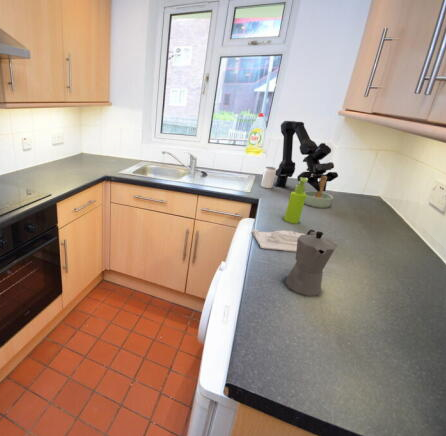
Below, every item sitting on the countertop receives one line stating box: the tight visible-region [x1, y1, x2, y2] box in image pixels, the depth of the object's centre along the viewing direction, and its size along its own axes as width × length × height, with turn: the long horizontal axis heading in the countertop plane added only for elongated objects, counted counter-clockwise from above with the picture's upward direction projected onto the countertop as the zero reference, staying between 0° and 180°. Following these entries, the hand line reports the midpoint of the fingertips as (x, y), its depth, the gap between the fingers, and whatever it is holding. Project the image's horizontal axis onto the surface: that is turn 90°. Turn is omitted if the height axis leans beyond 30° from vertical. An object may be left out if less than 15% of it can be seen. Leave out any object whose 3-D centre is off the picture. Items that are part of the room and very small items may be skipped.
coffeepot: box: [284, 229, 338, 297], centre depth 85 cm, size 15×9×18 cm, turn 159°
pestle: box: [312, 176, 327, 199], centre depth 153 cm, size 5×5×14 cm
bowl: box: [304, 190, 334, 209], centre depth 156 cm, size 13×13×5 cm
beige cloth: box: [251, 229, 306, 253], centre depth 113 cm, size 17×23×5 cm
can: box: [260, 166, 277, 189], centre depth 180 cm, size 6×6×12 cm
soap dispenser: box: [283, 177, 308, 224], centre depth 130 cm, size 6×7×20 cm
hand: (321, 191), depth 152 cm, fingers closed on pestle, 2 cm apart
